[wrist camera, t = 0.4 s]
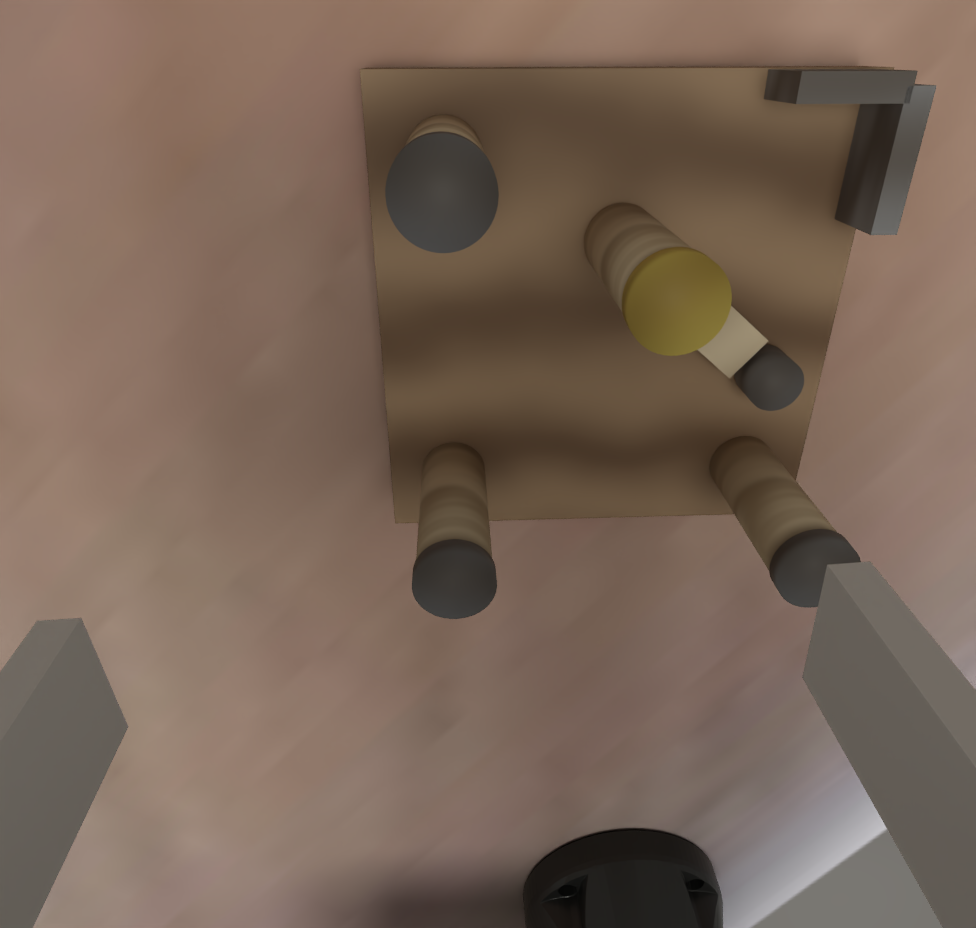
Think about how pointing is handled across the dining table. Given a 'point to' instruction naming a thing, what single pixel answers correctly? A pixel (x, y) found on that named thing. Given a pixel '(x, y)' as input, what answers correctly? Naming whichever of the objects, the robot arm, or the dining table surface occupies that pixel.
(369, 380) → the dining table surface
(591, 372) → the stool seat
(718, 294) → the swing leg
